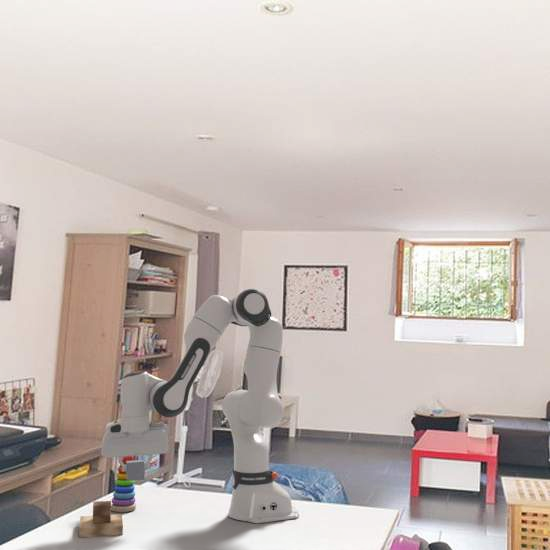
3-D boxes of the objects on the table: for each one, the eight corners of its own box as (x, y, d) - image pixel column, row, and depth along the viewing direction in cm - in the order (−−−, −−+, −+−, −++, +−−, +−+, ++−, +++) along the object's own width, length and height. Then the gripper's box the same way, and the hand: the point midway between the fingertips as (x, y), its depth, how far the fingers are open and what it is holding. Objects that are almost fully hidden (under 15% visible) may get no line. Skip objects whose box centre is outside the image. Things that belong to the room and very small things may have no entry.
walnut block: (110, 518, 190) (110, 500, 190) (110, 522, 185) (111, 505, 186) (92, 519, 189) (93, 501, 189) (92, 524, 184) (93, 506, 184)
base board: (121, 522, 194) (121, 513, 194) (122, 534, 183) (122, 525, 183) (80, 525, 191) (80, 516, 191) (78, 537, 180) (79, 528, 180)
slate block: (142, 476, 199) (142, 459, 199) (144, 479, 194) (144, 462, 194) (126, 477, 197) (126, 461, 198) (127, 481, 192) (127, 464, 193)
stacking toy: (129, 514, 203) (131, 453, 205) (106, 512, 205) (108, 452, 206) (139, 507, 211) (141, 449, 213) (117, 505, 213) (119, 448, 214)
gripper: (168, 420, 202) (168, 465, 201) (101, 424, 197) (101, 470, 196) (170, 424, 196) (170, 469, 195) (101, 428, 191) (101, 475, 190)
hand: (135, 470), depth 195 cm, fingers closed on slate block, 5 cm apart
